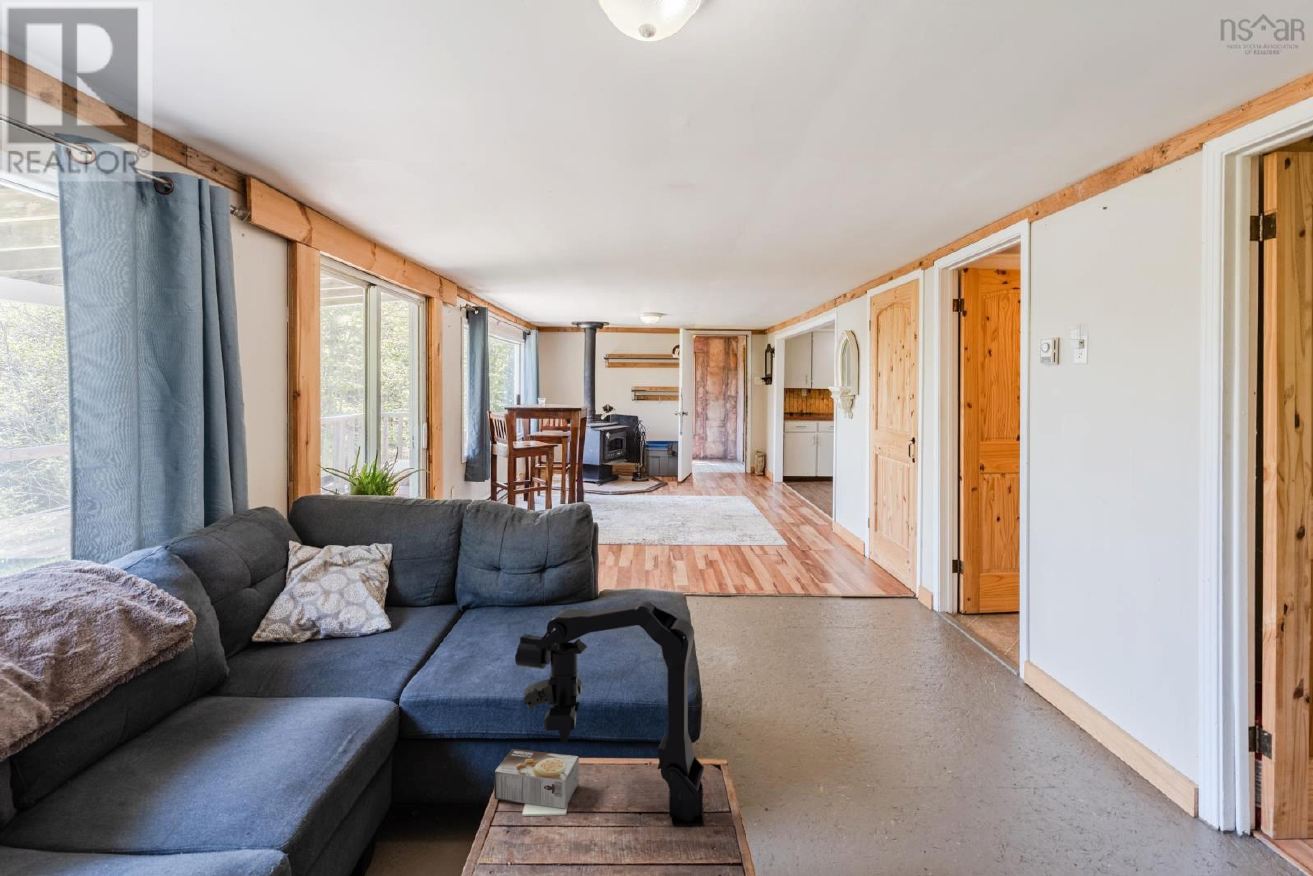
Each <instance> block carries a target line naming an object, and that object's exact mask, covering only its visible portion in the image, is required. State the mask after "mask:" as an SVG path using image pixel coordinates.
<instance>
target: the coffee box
mask: <svg viewBox="0 0 1313 876" xmlns="http://www.w3.org/2000/svg"><path fill="white" fill-rule="evenodd" d="M579 766H580V758H579V756H577V755H571V754H570V755H569V754H559V753H554V752H546V751H542V752H541V751H534V750H527V749H517V748H511V750H510V751H509V752H508V753H507V755H506V756H505V757H504V758H503V760H502V762H501V763H500V764H498V767H497V768H496V769H495V771H494V781H493V782H494V784H493V790H494V791H493V792H494V794H493V795H494V797H493V798H494V800H499V801H505V802H506V801H508V802H513V803H514V802H515V803H521V804H525V803H528V804H535V805H543V806H550V807H557V808H565V807H566V806H567V804H568V805H569V802H570V800H571V798H572V796H573V794H574V792H575V790H576V789H577V787H578V785H579V782H580V777H579V774H580V773H579V771H580V769H579ZM567 807H568V806H567Z"/></svg>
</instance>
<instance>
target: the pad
mask: <svg viewBox="0 0 1313 876" xmlns="http://www.w3.org/2000/svg"><path fill="white" fill-rule="evenodd" d="M568 805H569V803H568V804H567V806H566V807H565V808H557V807H550V806H543V805H535V804H528V803H524V807H523V810H522V813H521V816H522V817H541V816H542V817H546V816H548V817H549V816H550V817H551V816H552V817H553V816H567V811H568Z"/></svg>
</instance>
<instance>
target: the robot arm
mask: <svg viewBox="0 0 1313 876" xmlns="http://www.w3.org/2000/svg"><path fill="white" fill-rule="evenodd" d="M635 626H639V628H640V627H641V628H642V629H643V630H644V632H646V634H647V635H648V636H649V637H650V638H651V640H653V642H655V643H656V644H658V645H659V646H660V648H661V652H662V653H661V654H662V659H663V661H664V664H665V666H666V671H667V734H664V735H663V737H662V740H661V742H660V744H659V746H658V748H657V756H658V761H659V762H658V765H657V770H660V775H661V778H662V779H663V780H664V781H665V782H666V784H667V786H668V789H669V790H668V816H669V817H670V818H671V824H672V826H674V827H680V826H681V827H682V826H684V827H685V826H689V827H690V826H704V825H705V818H704V813H703V812H704V806H703V805H704V804H703V803H704V793H703V792H704V790H703V789H704V788H703V782H702V776H703V774H704V770H705V767H704V765H703V764H702V763H701V762H700V760H698V759H697V757H696V756H695V755H694V749H693V743H692V740H691V737H690V735H689V729H688V727H689V726H688V724H689V723H688V722H689V721H688V719H689V718H688V717H689V716H688V714H689V712H688V705H689V704H688V703H689V702H688V699H689V698H688V697H689V696H688V695H689V694H688V693H689V691H688V689H689V685H688V684H689V683H688V681H689V680H688V679H689V678H688V676H689V662H690V658H691V653H692V649H693V643H694V638H695V629H694V627H693V625H691V623H690V622H688V621H687V620H685V619H682V618H679V617H677V616H675V615H674V614H672V613H671V612H668V611H666V610H663V609H661V608H659V607H657V606H656V605H655V604H653V603H652V602H650V601H642V602H640V603H634V604H627V605H622V606H616V607H610V608H604V609H599V610H598V609H597V610H585V609H579V608H578V609H577V608H566V609H563V610H561V611H560V612H559V613H557V614H556V615H554V616H553V617H552V618H551V619H550V620H549V621H548V623H547V626H546V632H545V634H544V635H542V636H538V635H532V634H528V633H527V634H525V633H524V634H523V635H521V636H520V638H519V644H518V645H517V649H516V651H515V652H516V653H515V657H514V660H515V664H516V666H517V667H520V668H529V669H537V670H538V669H539V670H543V669H545V668H546V666H547V665H550V674H549V678H547V679H543V680H541V681H538V682H536V683H533V684H530V685H527V687H526V688H525V689H524V692H523V694H522V695H523V699H524V702H523V704H524V705H525V706H527V709H533V708H535V707H536V706H538V705H542V704H545V703H546V702H547V706H550V708H549V709H548V710H547V711H545V716H544V719H543V730H544V731H546V732H547V731H549V732H550V731H558V734H559V737H560V741H561V743H567V742H568V739H569V737H570V734H571V732H572V731H573V730H575V728H576V723H577V718H578V714H579V713H578V711H579V706H580V702H579V701H578V696H580V695H582V689H583V686H582V685H583V684H582V683H583V682H582V680H580V678H578V677H579V669H578V655H581V654H582V653H583V652H585V650H586V649H587V647H588V646H587V645H586V644H585V643H584V642H582V641H581V637H583V636H585V635H588V634H590V633H597V632H603V631H609V630H616V629H617V630H618V629H621V628H628V627H635ZM574 640H575V641H574Z"/></svg>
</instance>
